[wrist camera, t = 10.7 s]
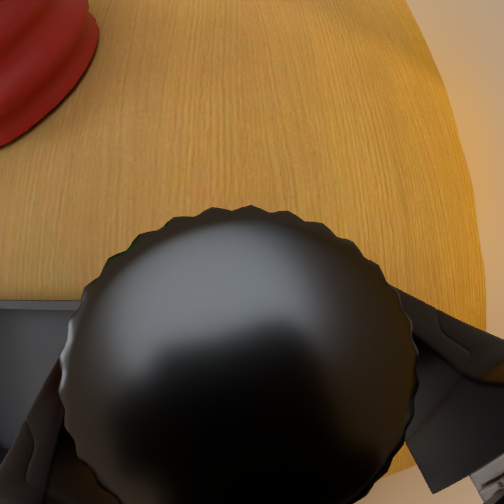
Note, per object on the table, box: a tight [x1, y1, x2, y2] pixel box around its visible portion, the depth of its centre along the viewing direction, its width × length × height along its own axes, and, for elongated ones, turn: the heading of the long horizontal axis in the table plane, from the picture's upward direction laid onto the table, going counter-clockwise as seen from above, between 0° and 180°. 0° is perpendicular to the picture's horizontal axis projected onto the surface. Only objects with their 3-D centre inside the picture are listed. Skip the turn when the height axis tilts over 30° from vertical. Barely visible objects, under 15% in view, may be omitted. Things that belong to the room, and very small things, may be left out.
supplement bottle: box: [58, 205, 419, 504], centre depth 9 cm, size 7×7×12 cm
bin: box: [0, 300, 81, 465], centre depth 17 cm, size 13×13×4 cm
